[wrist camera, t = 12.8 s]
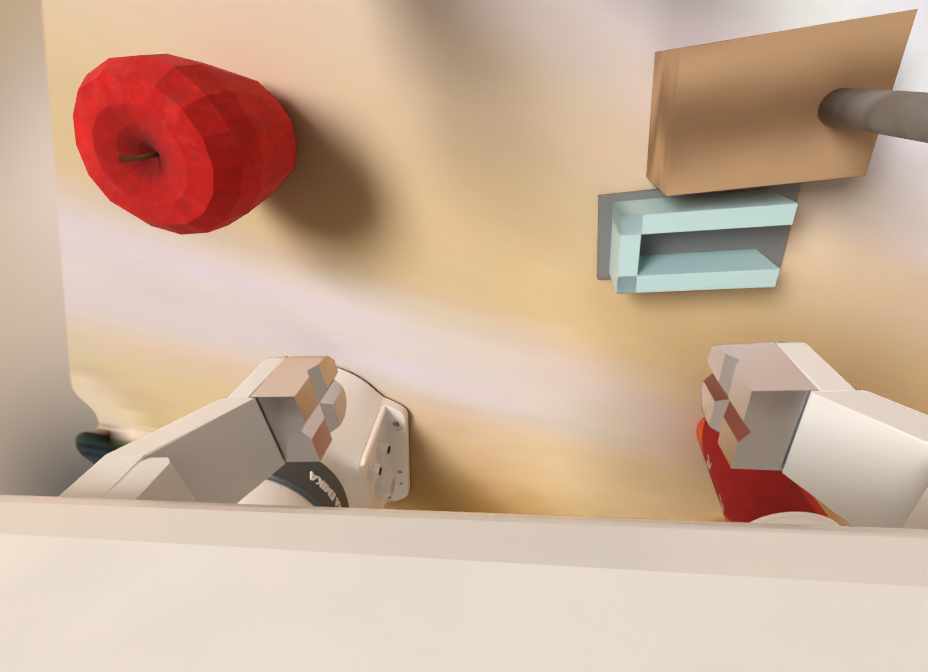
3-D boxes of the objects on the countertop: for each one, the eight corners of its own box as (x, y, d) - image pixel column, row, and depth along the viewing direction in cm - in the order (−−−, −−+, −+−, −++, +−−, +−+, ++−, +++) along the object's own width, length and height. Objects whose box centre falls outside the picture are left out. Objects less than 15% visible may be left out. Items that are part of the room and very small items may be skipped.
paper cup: (670, 441, 46) (716, 569, 34) (714, 389, 42) (784, 515, 30) (737, 464, 46) (805, 599, 34) (787, 415, 42) (885, 549, 30)
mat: (777, 263, 35) (780, 266, 34) (597, 276, 37) (597, 279, 37) (799, 173, 31) (802, 175, 31) (598, 195, 34) (599, 196, 33)
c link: (609, 272, 37) (616, 293, 33) (613, 201, 33) (621, 216, 30) (751, 265, 35) (775, 286, 31) (770, 189, 31) (797, 203, 28)
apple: (251, 215, 39) (133, 276, 28) (169, 100, 35) (-10, 115, 23) (342, 164, 35) (250, 208, 24) (264, 28, 31) (106, 4, 20)
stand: (810, 158, 31) (1003, 220, 18) (646, 176, 33) (715, 243, 20) (844, 20, 26) (1125, -25, 14) (654, 52, 29) (748, 38, 16)
